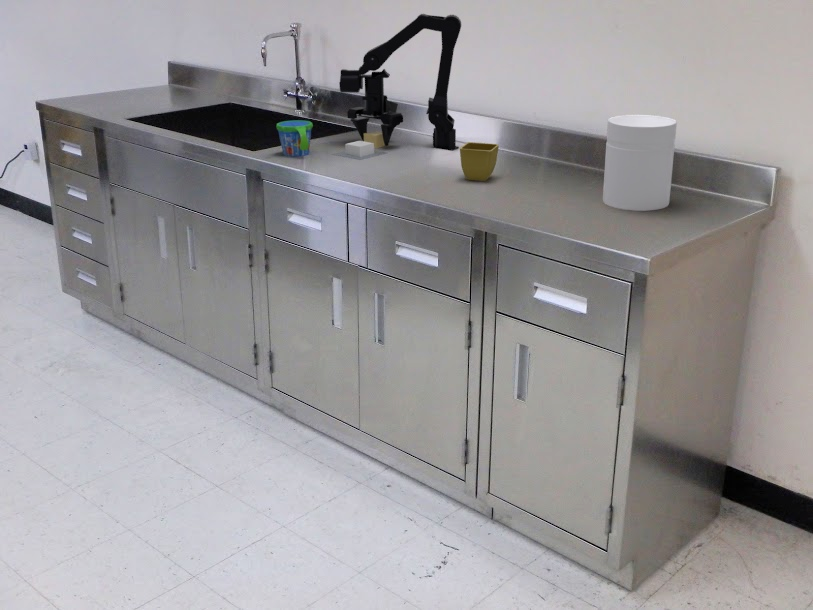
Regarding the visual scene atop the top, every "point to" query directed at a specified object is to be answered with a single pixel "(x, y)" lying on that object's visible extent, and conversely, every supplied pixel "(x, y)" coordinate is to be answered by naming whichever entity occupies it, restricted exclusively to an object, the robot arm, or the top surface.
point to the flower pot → (478, 160)
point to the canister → (639, 162)
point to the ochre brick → (374, 138)
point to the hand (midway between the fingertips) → (375, 143)
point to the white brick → (359, 148)
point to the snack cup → (295, 137)
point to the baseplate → (343, 154)
